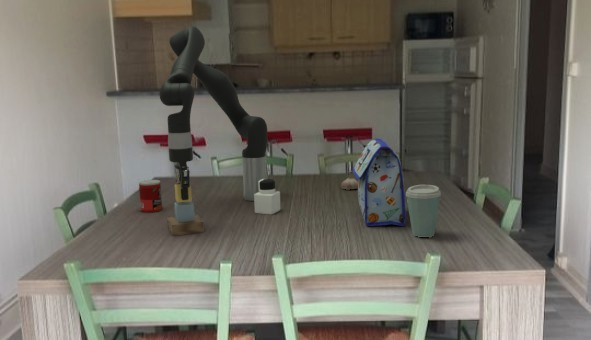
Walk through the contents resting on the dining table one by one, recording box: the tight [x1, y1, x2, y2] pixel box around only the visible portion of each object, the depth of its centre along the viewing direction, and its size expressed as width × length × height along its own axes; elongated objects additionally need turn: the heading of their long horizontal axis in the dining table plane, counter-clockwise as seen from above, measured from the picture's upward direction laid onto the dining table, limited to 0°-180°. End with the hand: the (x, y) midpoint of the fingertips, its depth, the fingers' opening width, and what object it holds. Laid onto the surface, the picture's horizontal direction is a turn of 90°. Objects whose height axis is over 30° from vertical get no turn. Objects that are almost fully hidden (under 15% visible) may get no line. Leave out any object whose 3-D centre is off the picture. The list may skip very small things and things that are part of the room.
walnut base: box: [166, 214, 205, 237], centre depth 185 cm, size 10×10×4 cm
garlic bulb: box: [340, 170, 358, 191], centre depth 241 cm, size 8×7×8 cm
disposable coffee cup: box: [405, 184, 442, 238], centre depth 172 cm, size 11×11×15 cm
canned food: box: [138, 179, 163, 213], centre depth 213 cm, size 8×8×11 cm
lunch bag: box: [352, 137, 407, 227], centre depth 192 cm, size 23×17×27 cm
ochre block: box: [174, 182, 193, 202], centre depth 184 cm, size 4×4×5 cm
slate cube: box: [173, 200, 196, 223], centre depth 185 cm, size 6×6×6 cm
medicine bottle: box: [253, 178, 281, 216], centre depth 206 cm, size 7×7×12 cm
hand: (183, 197), depth 184 cm, fingers open, 4 cm apart
